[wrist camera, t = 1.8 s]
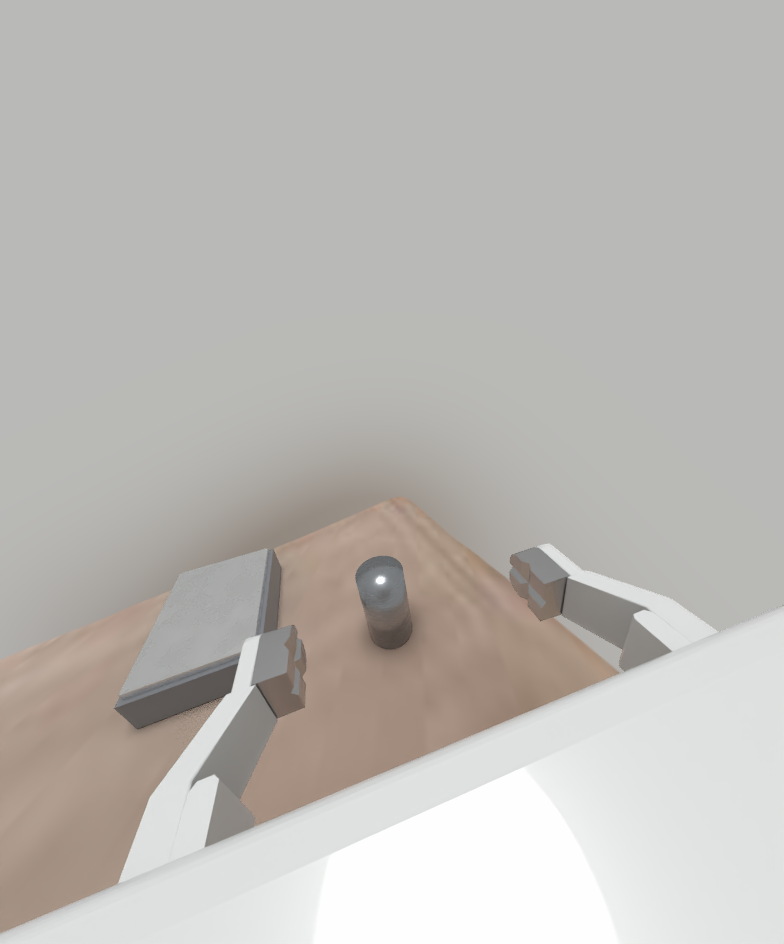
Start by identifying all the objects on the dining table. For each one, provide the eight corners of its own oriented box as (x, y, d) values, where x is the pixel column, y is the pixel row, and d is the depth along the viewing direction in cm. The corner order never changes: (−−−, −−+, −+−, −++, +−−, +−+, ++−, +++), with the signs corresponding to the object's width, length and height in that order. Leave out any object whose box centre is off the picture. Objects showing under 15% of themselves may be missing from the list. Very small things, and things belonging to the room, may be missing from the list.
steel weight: (376, 656, 31) (360, 599, 27) (366, 617, 35) (351, 564, 31) (418, 639, 32) (409, 582, 28) (404, 603, 36) (394, 550, 32)
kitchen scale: (137, 729, 28) (109, 703, 26) (194, 592, 43) (179, 569, 41) (273, 677, 31) (258, 650, 28) (281, 565, 46) (271, 542, 44)
